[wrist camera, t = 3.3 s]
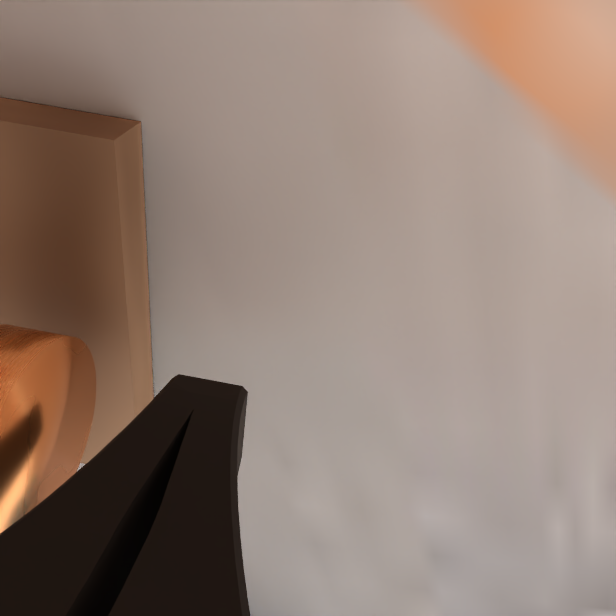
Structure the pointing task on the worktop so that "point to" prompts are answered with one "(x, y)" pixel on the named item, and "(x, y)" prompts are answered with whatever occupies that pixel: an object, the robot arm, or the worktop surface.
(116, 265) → the bearing stand
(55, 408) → the shaft
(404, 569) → the worktop surface
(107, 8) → the worktop surface
